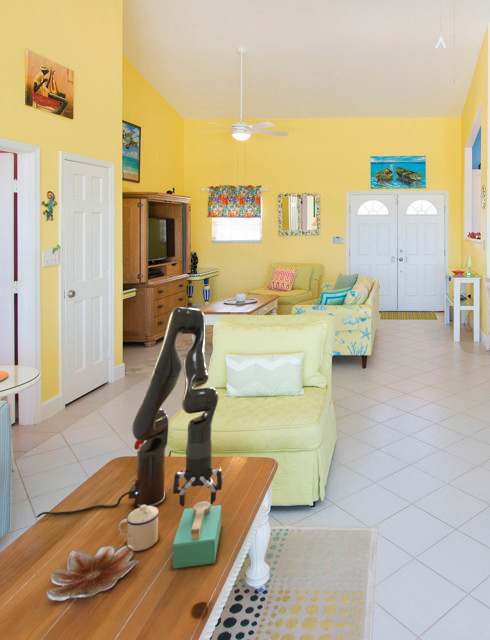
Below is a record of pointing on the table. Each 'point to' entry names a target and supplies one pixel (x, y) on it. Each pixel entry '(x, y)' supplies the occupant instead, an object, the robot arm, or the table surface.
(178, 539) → the lunchbox lid
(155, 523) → the teacup with lid
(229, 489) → the table surface
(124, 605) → the table surface
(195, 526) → the spoon
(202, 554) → the box
